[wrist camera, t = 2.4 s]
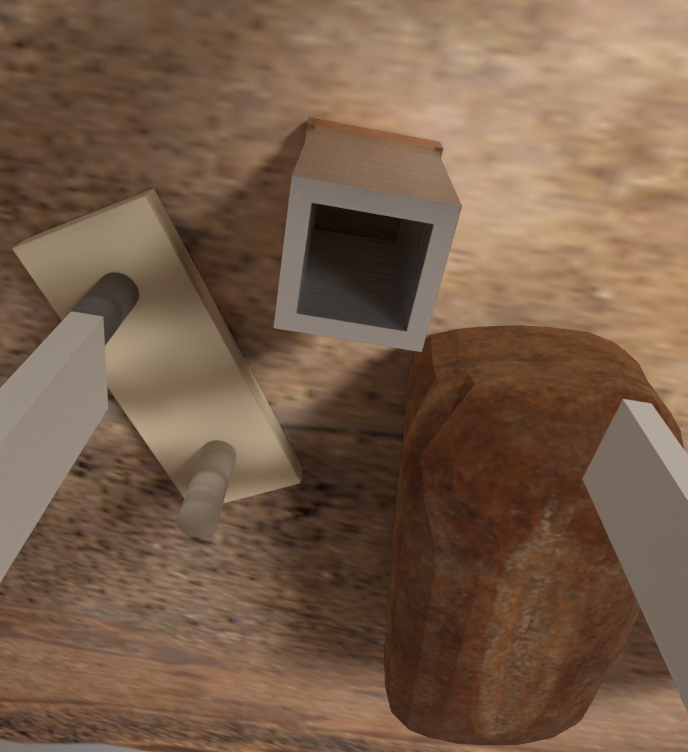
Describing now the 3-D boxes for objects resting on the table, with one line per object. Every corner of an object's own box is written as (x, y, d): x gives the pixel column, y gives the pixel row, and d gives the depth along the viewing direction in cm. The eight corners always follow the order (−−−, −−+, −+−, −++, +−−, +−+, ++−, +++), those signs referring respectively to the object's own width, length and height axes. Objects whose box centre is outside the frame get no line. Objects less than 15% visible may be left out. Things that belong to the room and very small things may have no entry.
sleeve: (293, 243, 32) (268, 331, 24) (309, 116, 29) (286, 168, 21) (410, 263, 33) (425, 356, 24) (439, 141, 29) (469, 201, 21)
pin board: (25, 238, 33) (-56, 297, 26) (153, 187, 31) (99, 238, 25) (198, 495, 43) (169, 583, 36) (302, 467, 41) (291, 554, 35)
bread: (376, 613, 49) (378, 778, 39) (396, 301, 34) (409, 434, 24) (546, 619, 49) (594, 786, 39) (642, 306, 34) (763, 444, 24)
